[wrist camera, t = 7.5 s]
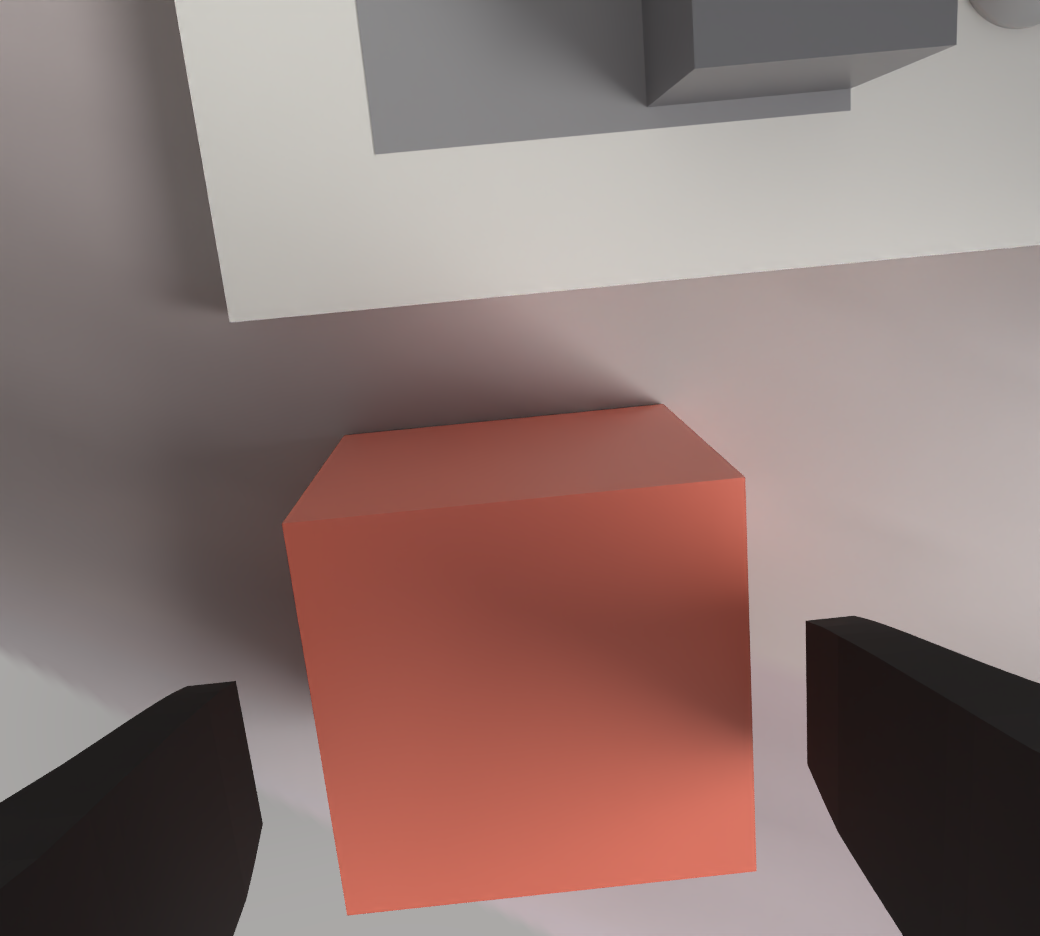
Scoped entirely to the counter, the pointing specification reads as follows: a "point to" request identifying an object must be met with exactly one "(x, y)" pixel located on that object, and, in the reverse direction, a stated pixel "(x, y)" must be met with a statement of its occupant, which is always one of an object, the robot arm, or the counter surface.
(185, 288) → the counter surface
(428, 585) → the coral red cube
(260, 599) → the counter surface
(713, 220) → the breaker panel
